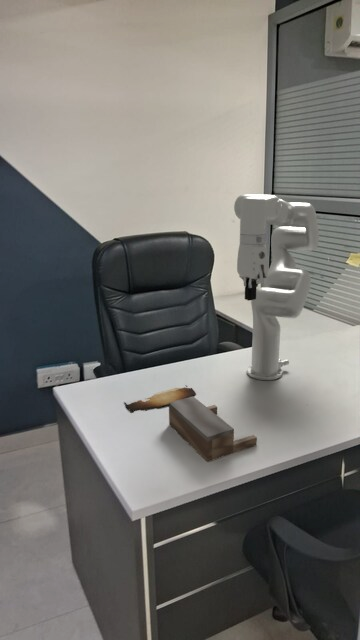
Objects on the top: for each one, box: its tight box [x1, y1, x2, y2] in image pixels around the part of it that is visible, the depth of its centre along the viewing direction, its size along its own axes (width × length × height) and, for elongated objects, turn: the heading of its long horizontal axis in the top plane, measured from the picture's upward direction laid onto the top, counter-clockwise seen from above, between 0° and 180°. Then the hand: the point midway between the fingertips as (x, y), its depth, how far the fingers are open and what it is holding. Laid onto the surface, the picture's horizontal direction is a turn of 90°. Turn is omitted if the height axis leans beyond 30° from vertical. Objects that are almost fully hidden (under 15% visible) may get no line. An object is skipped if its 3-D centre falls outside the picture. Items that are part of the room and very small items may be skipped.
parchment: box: [124, 385, 197, 413], centre depth 155 cm, size 25×10×1 cm, turn 122°
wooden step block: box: [168, 395, 258, 463], centre depth 133 cm, size 16×21×7 cm
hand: (250, 299), depth 148 cm, fingers closed
